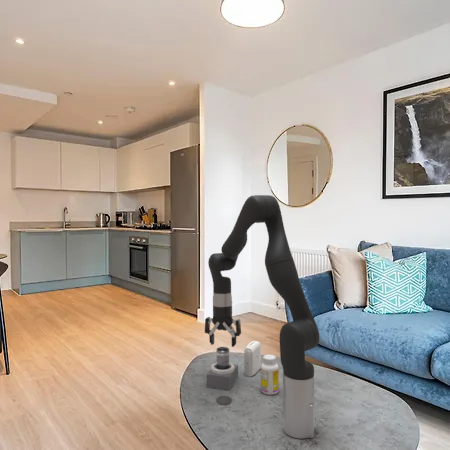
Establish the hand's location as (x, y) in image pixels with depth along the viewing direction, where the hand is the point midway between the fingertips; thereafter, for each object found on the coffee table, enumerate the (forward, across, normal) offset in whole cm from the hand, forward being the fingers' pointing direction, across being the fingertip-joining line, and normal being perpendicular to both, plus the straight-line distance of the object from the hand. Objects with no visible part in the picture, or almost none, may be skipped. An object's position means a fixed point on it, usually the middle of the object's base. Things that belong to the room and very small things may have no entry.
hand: (222, 345), depth 143 cm
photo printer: (+15, +9, +13) cm, 22 cm away
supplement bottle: (+15, +19, -2) cm, 24 cm away
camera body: (+15, 0, 0) cm, 15 cm away
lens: (+10, 0, 0) cm, 10 cm away
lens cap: (+15, +5, -14) cm, 21 cm away
